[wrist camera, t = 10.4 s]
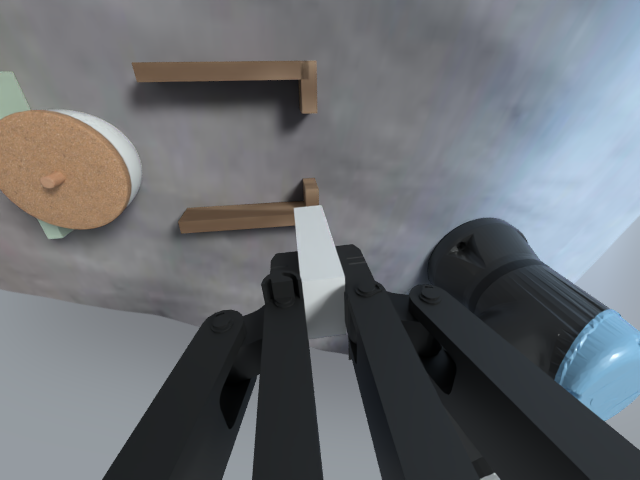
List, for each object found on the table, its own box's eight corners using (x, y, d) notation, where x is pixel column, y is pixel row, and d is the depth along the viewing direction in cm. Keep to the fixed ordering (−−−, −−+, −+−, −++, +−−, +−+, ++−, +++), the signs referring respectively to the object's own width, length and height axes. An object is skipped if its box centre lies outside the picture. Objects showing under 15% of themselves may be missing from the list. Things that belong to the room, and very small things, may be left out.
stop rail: (83, 222, 35) (63, 237, 32) (70, 222, 35) (48, 239, 32) (12, 71, 27) (-26, 71, 24) (-5, 72, 27) (-46, 71, 24)
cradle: (315, 210, 39) (319, 223, 35) (190, 218, 37) (181, 233, 33) (311, 62, 30) (316, 60, 27) (149, 64, 28) (131, 62, 25)
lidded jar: (57, 80, 28) (-31, 82, 20) (170, 138, 32) (134, 159, 24) (39, 173, 32) (-41, 206, 24) (141, 215, 36) (102, 255, 28)
